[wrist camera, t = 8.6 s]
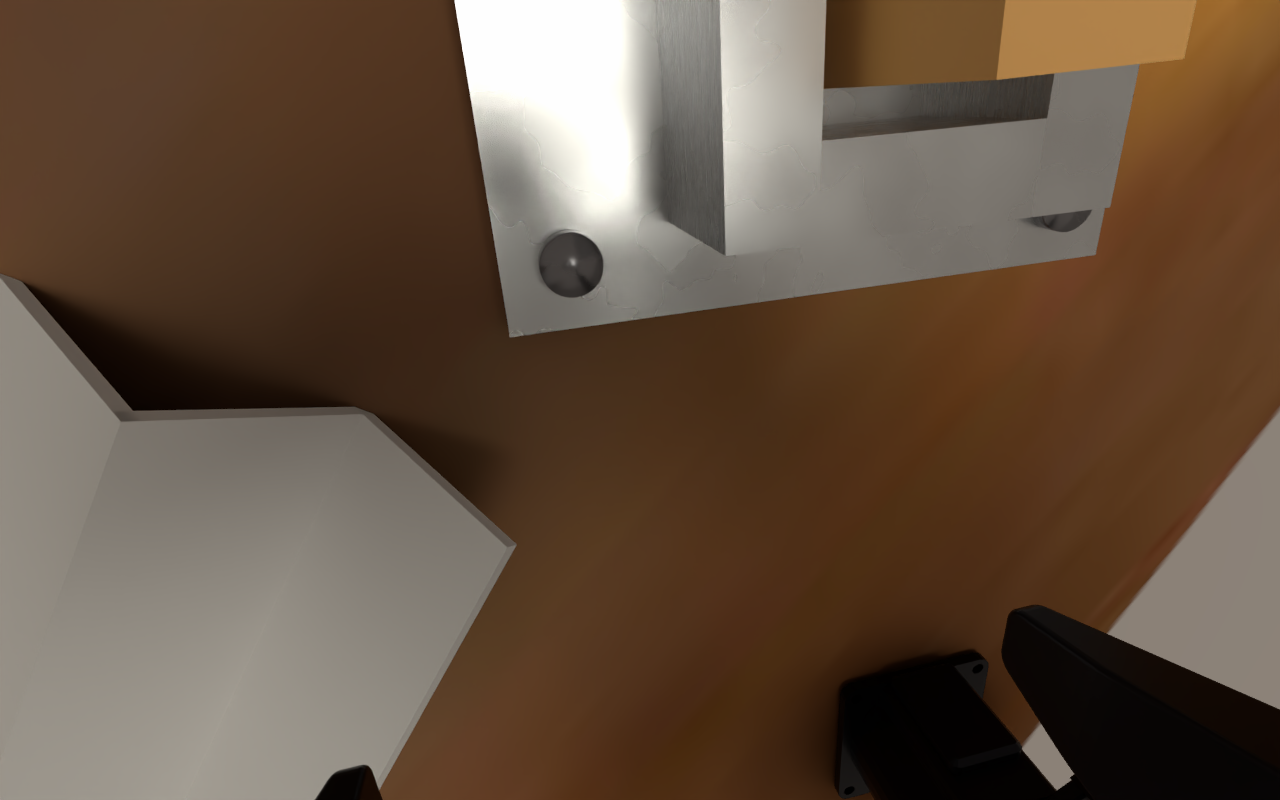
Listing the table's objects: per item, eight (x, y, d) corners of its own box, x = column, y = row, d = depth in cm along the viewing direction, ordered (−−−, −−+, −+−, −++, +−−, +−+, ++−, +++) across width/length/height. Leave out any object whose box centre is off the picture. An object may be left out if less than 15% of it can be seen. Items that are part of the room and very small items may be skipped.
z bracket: (42, 840, 27) (-197, 955, 22) (253, 304, 21) (-6, 272, 16) (193, 1121, 23) (-59, 1355, 17) (516, 544, 17) (286, 619, 11)
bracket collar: (1069, 248, 22) (1243, 290, 17) (508, 326, 19) (519, 404, 14) (1180, -343, 16) (1494, -544, 11) (394, -367, 13) (343, -658, 8)
